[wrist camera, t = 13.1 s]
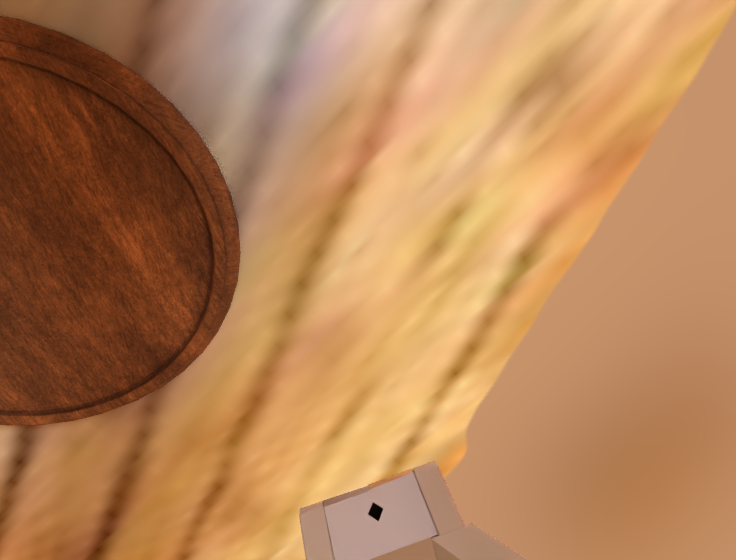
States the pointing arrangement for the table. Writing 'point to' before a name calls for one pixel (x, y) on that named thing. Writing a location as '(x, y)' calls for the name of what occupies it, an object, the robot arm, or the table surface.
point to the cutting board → (101, 232)
